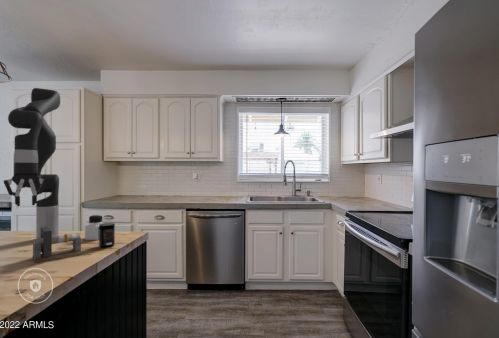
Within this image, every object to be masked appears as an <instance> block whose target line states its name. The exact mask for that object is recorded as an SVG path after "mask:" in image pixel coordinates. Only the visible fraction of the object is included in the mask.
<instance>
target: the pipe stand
mask: <svg viewBox="0 0 499 338" xmlns="http://www.w3.org/2000/svg"><path fill="white" fill-rule="evenodd" d="M69 242H72V248H68V249H62V250H55V251H52V256H48V257H44V256H43V254H42V253H41V246H43V238H39V239H36V238H34V239H33V242H32V260H33V263H34V264H38V263H44V262H50V261H53V260H59V259H65V258H71V257H77V256H82V255H83V254H82V253H83V252H82V237H81V233H80V232H77V233H71V234H62V235H58V236H54V237H52V245H57V244H66V243H69Z"/></svg>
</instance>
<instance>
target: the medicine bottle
mask: <svg viewBox="0 0 499 338" xmlns="http://www.w3.org/2000/svg"><path fill="white" fill-rule="evenodd" d="M99 224H103V215H100V214H93V215H90V216H89V217H88V224H86V226H84V232H85V233H84V240H85V241H99Z"/></svg>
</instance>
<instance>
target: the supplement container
mask: <svg viewBox="0 0 499 338" xmlns="http://www.w3.org/2000/svg"><path fill="white" fill-rule="evenodd" d="M115 231H116V223H114V222H104V223H103V222H102V224H99V240H98V247H100V248H103V249H107V248H111V247H114V246H115V244H116V241H115V237H116V234H115V233H116V232H115Z"/></svg>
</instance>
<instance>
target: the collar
mask: <svg viewBox="0 0 499 338" xmlns="http://www.w3.org/2000/svg"><path fill="white" fill-rule="evenodd" d="M41 238H43V246H41V254H43V256H44V257H48V256H52V252H53V250H52V249H53V248H52V247H53V246H52V245H53V244H52V231H51V230H50V228H49V227H41Z"/></svg>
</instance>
